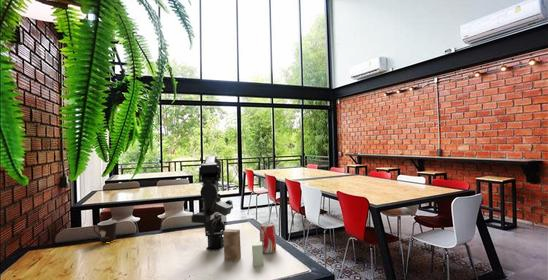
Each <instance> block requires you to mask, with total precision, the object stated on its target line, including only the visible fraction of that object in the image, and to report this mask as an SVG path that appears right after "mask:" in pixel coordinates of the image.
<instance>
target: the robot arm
mask: <svg viewBox="0 0 548 280" xmlns="http://www.w3.org/2000/svg"><path fill="white" fill-rule="evenodd" d="M221 176H222V163H221V160H219V159H218V157H217V156H216V155H207V156H205V160H204V161H203V163H201V164H200V166H199V167H198V183H202V187H201V188H200V196H201V198H200V202H202V204H203V205H202V206H203V207H202V208H201V209H200V212H196V213H194V214H192V215H191V217H190V220H191V223H195V224H197V223H198V224H203V225H204V231H205V232H204V233H205V237H207V247H205V249H206V250H211V251H212V250H213V251H219V250H221V249H222V248H224V239H223V231H225V230H226V224H225V223H224V221H223V217H222V216H225V217H226V216H228V215H230V214H231V211H232V210H233V209H234V205H233V200H230V199H228V200H226V201H222V200H221V197H220V196H219V192H218V182H220V179H222V177H221Z"/></svg>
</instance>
